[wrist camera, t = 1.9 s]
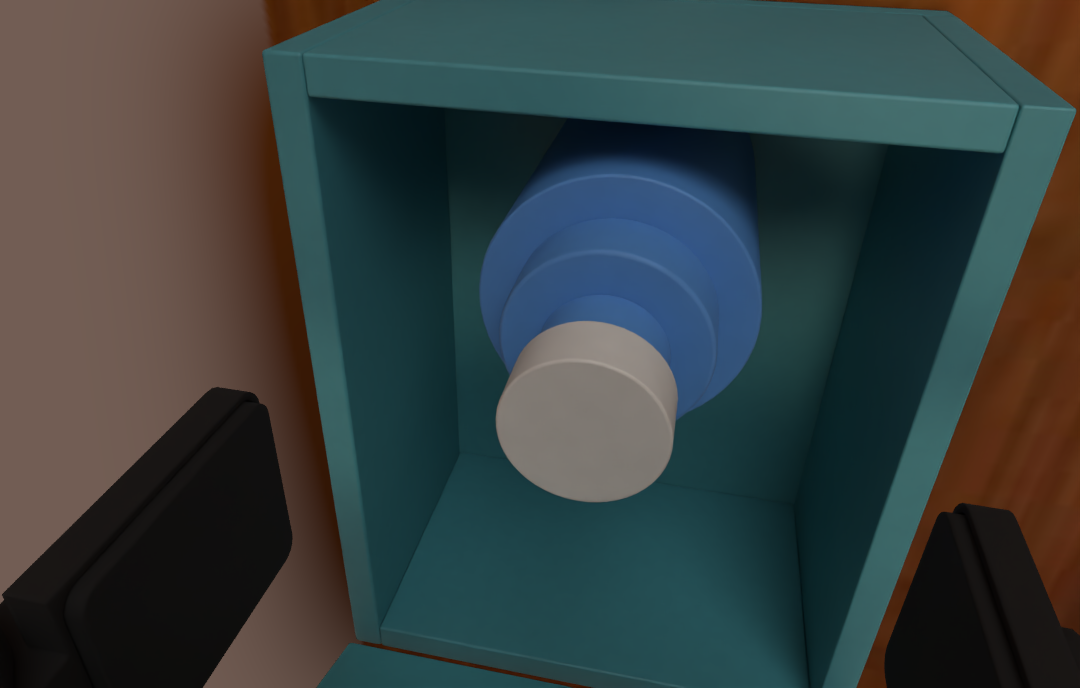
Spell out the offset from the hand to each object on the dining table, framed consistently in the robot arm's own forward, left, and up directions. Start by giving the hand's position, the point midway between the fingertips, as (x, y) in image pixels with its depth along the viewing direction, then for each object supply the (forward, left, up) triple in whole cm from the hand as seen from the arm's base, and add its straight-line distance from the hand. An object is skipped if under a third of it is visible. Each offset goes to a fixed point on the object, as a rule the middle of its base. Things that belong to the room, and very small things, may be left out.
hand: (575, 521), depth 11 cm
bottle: (0, 0, -14) cm, 14 cm away
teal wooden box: (+3, -2, -14) cm, 15 cm away
